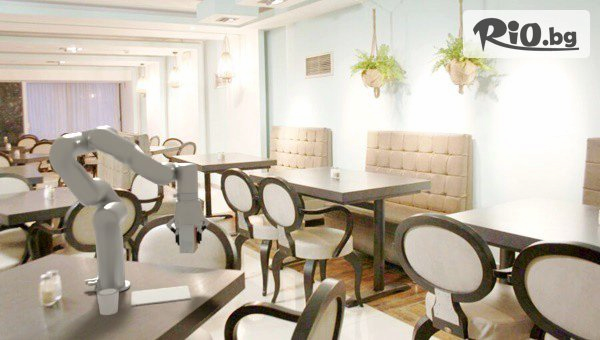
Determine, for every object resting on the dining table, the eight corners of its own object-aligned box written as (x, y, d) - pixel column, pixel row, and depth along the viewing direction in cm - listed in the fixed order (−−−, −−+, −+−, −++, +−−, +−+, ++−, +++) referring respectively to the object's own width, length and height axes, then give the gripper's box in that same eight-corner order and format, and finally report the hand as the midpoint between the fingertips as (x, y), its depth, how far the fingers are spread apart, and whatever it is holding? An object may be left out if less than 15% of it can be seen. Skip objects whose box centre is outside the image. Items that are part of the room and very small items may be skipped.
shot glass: (107, 317, 169) (105, 296, 168) (93, 313, 172) (92, 292, 171) (124, 310, 175) (123, 290, 174) (110, 306, 178) (109, 286, 177)
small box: (194, 253, 192) (194, 225, 190) (179, 253, 191) (178, 225, 190) (198, 247, 200) (197, 220, 198) (183, 247, 199) (182, 220, 198)
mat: (131, 306, 178) (131, 304, 178) (131, 292, 190) (131, 291, 190) (191, 299, 184) (191, 297, 183) (187, 286, 196) (187, 285, 196)
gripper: (164, 199, 186) (165, 248, 189) (213, 197, 192) (213, 244, 194) (162, 196, 193) (163, 243, 196) (209, 193, 199) (210, 239, 201)
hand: (188, 243), depth 195 cm, fingers closed on small box, 6 cm apart
